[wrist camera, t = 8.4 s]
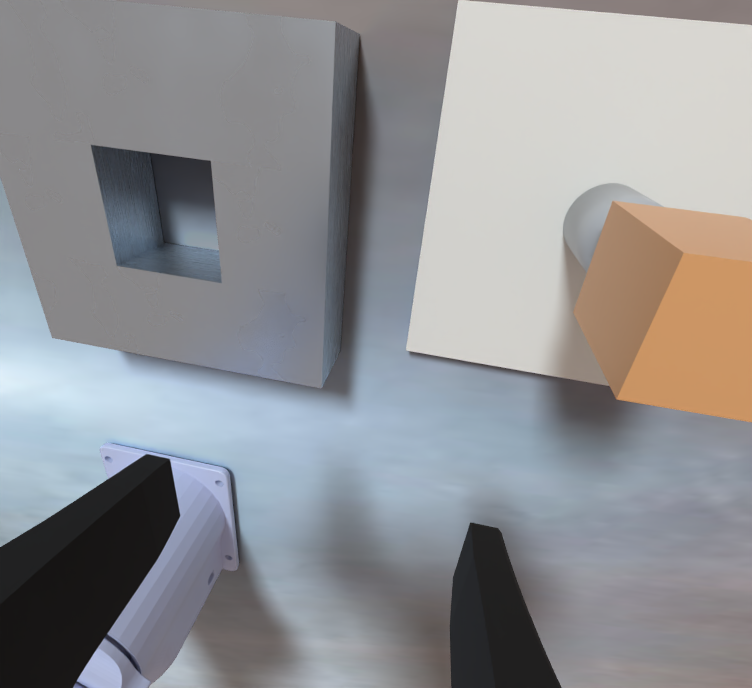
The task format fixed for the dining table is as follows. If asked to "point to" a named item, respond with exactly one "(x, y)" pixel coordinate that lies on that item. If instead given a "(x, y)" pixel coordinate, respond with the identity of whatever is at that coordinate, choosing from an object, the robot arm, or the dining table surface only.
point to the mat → (565, 165)
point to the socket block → (191, 140)
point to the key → (665, 300)
